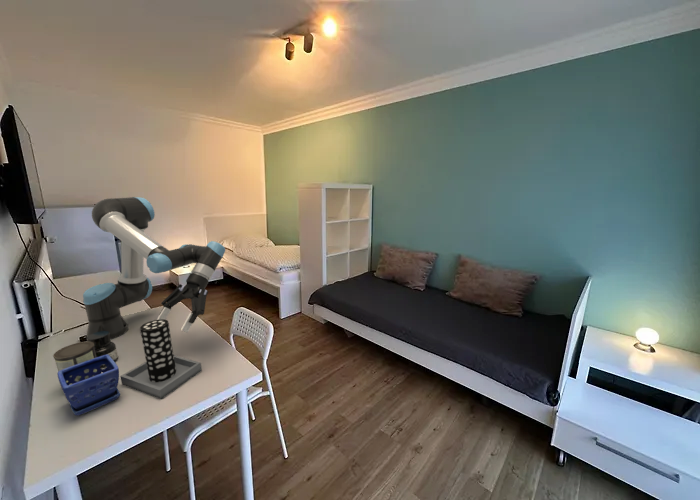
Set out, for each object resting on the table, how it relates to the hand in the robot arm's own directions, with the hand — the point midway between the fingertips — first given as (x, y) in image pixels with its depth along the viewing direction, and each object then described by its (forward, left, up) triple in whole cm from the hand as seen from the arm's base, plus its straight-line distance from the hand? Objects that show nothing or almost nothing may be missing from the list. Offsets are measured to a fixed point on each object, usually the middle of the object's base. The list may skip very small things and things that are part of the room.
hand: (170, 327), depth 107 cm
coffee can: (-24, -18, -18) cm, 35 cm away
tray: (-1, -5, -17) cm, 18 cm away
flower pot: (-10, -21, -18) cm, 30 cm away
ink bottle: (-32, -7, -18) cm, 37 cm away
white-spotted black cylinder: (-1, -5, -17) cm, 17 cm away
